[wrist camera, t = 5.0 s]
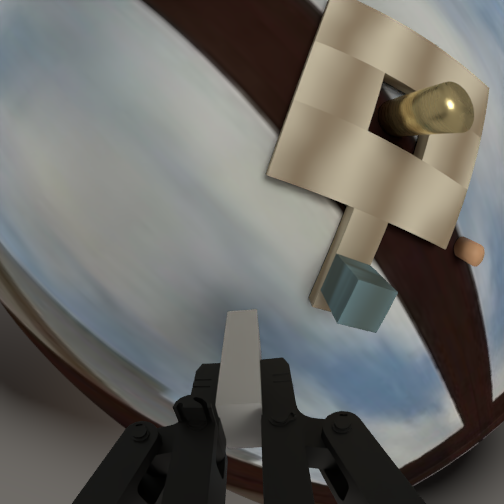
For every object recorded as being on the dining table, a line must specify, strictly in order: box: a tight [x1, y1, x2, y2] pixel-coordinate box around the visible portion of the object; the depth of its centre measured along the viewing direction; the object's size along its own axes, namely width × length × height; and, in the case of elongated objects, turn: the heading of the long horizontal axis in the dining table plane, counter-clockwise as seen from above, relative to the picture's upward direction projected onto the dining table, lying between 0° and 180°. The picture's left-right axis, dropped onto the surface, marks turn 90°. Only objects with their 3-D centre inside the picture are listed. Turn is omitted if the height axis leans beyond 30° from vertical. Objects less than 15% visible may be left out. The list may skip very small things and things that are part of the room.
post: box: [378, 81, 474, 137], centre depth 15 cm, size 3×3×8 cm
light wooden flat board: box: [266, 0, 489, 333], centre depth 17 cm, size 16×24×6 cm, turn 161°
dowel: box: [454, 237, 484, 266], centre depth 21 cm, size 2×2×3 cm
